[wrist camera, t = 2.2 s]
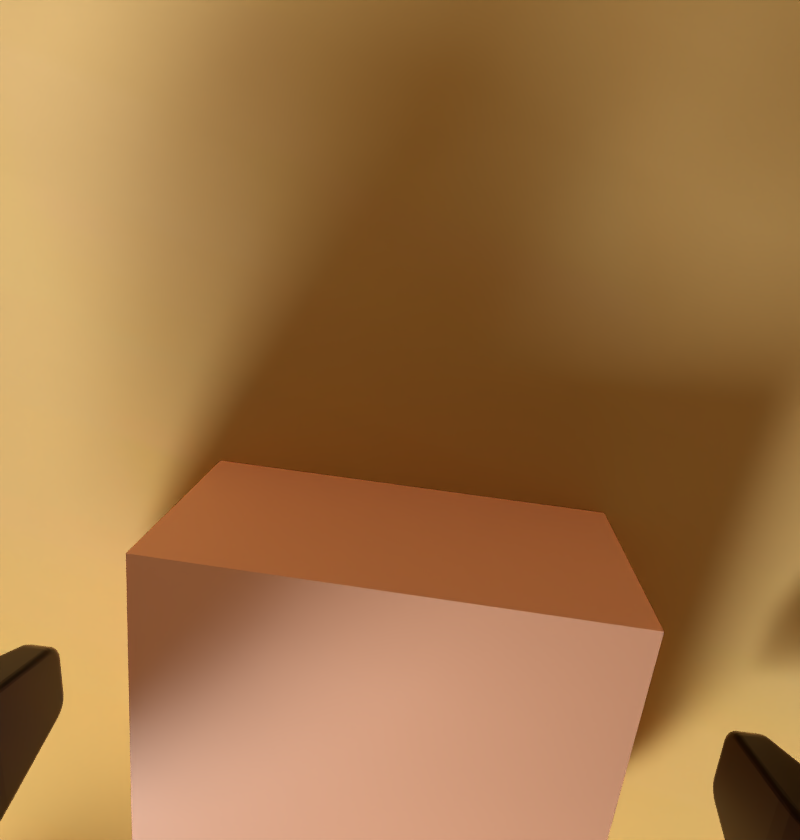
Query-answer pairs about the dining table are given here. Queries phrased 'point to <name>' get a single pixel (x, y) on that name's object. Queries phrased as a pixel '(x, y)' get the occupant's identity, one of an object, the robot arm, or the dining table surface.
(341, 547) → the terracotta block
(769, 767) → the robot arm
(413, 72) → the dining table surface
